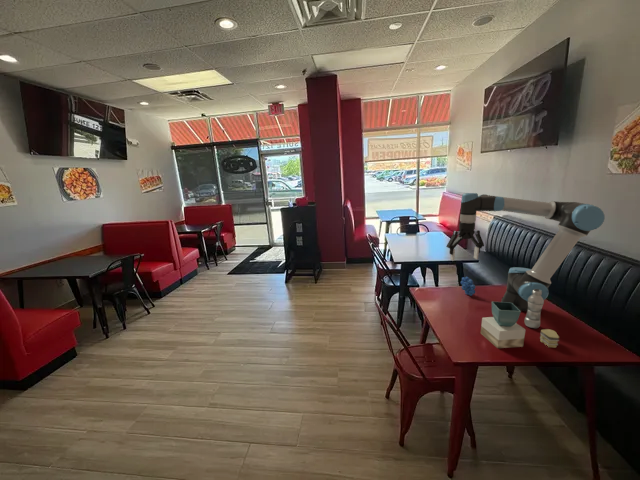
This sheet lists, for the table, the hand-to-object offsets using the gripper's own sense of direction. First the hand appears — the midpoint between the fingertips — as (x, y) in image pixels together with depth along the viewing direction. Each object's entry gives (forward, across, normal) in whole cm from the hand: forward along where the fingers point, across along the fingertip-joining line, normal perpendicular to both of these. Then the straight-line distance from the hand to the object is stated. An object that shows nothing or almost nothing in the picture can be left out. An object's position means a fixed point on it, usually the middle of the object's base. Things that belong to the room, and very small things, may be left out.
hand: (464, 259), depth 149 cm
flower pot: (+22, -2, +31) cm, 38 cm away
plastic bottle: (+31, -25, +22) cm, 45 cm away
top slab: (+27, -2, +30) cm, 40 cm away
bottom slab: (+31, -2, +30) cm, 44 cm away
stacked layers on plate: (+31, -21, +36) cm, 52 cm away
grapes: (+31, -15, -18) cm, 39 cm away
